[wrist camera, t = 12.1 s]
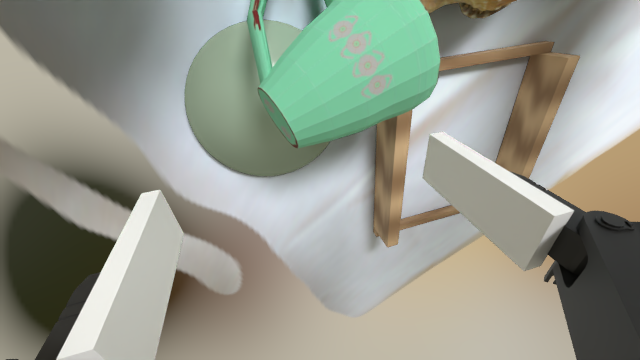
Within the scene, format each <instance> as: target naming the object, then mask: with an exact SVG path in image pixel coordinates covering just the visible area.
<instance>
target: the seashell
mask: <svg viewBox="0 0 640 360" xmlns="http://www.w3.org/2000/svg"><path fill="white" fill-rule="evenodd" d="M420 1H421V2H422V4H423V5H424V7H425V8H426V9H427V11H428V13H431V12H433V11H435V10H436V9H438V8H440V7H442V6H444V5H448V4H453V3H459V5H460V8H461V11H462V13H463V14H464V15H466V16H468V17H469V18H472V19H475V18H485V17H488V16H490V15H492V14H494V13H496V12H498V11H500V10H501V9H503V8H505V7H506V6H508V5H509V4H511V3H512V2H514V1H517V0H420Z"/></svg>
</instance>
